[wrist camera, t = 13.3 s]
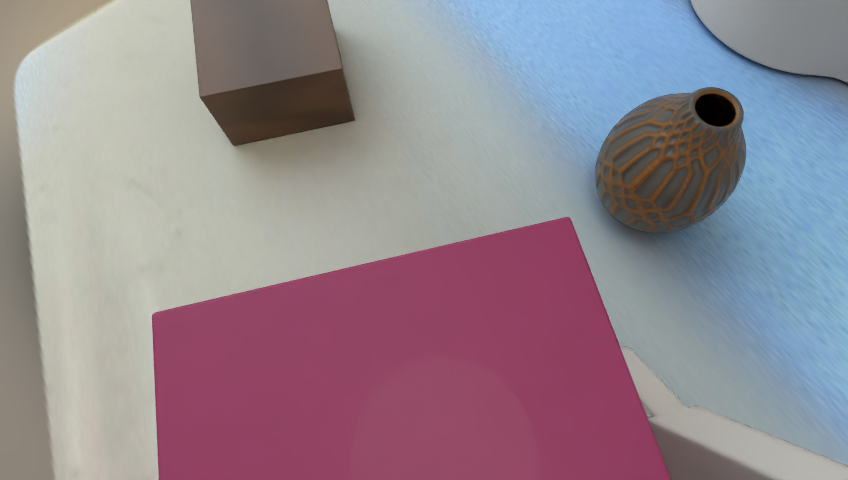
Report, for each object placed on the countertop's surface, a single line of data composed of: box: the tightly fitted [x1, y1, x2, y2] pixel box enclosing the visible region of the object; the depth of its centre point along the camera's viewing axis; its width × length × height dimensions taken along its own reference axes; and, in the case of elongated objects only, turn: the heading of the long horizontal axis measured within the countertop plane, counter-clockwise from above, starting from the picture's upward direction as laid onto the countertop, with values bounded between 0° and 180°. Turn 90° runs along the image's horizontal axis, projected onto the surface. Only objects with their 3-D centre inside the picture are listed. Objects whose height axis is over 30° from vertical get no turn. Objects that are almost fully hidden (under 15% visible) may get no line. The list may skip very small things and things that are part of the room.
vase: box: [595, 87, 746, 233], centre depth 26 cm, size 7×7×9 cm
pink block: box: [152, 217, 671, 480], centre depth 9 cm, size 5×5×8 cm
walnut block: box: [191, 0, 355, 146], centre depth 31 cm, size 8×8×5 cm
